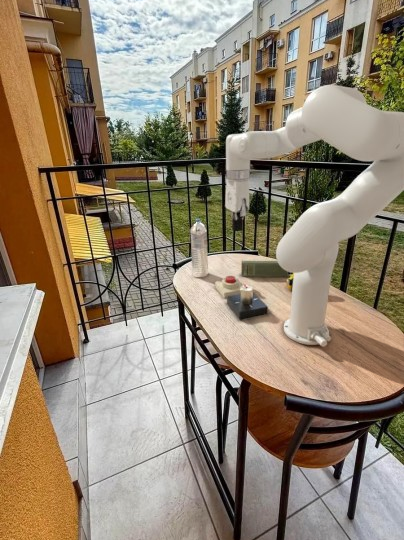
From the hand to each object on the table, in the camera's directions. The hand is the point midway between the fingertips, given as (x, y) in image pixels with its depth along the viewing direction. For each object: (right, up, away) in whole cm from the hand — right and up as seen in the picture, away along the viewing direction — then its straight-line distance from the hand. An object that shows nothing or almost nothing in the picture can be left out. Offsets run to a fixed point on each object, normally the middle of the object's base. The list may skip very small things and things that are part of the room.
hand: (237, 230), depth 97 cm
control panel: (+3, -27, -1) cm, 27 cm away
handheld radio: (+17, -18, +23) cm, 34 cm away
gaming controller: (+27, -22, +10) cm, 36 cm away
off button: (-1, -19, +11) cm, 22 cm away
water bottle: (-13, -17, +27) cm, 34 cm away
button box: (-1, -22, +12) cm, 25 cm away
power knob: (+3, -24, -2) cm, 24 cm away
